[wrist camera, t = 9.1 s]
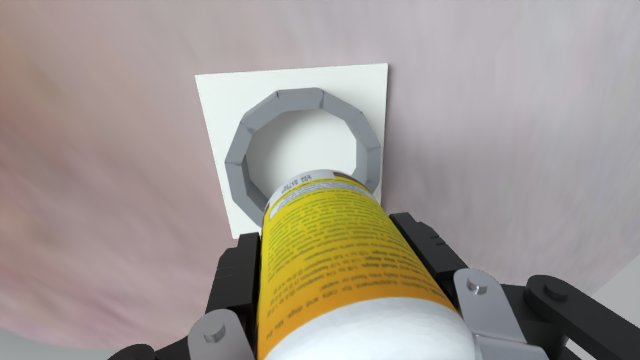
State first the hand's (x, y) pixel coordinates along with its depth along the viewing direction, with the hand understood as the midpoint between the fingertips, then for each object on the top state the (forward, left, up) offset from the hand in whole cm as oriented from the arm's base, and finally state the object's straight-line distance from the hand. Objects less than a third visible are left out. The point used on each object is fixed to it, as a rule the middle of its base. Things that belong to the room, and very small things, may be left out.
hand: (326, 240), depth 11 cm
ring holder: (0, 0, -11) cm, 11 cm away
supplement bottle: (0, 0, -2) cm, 2 cm away
